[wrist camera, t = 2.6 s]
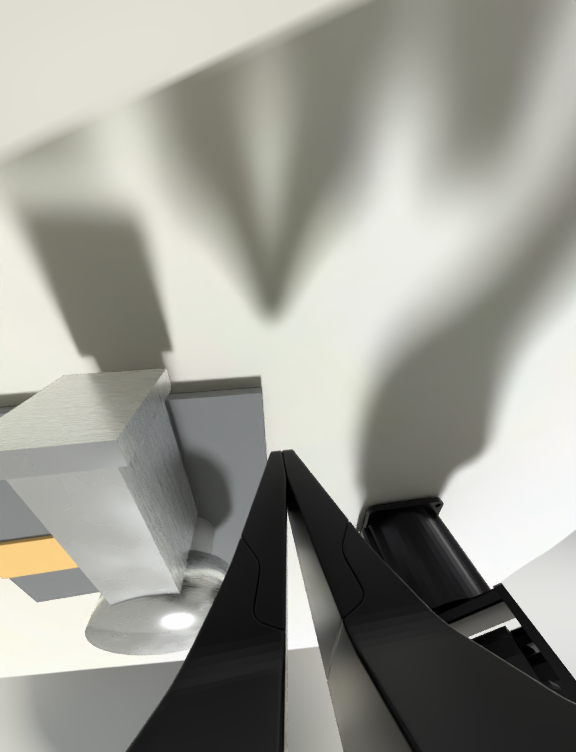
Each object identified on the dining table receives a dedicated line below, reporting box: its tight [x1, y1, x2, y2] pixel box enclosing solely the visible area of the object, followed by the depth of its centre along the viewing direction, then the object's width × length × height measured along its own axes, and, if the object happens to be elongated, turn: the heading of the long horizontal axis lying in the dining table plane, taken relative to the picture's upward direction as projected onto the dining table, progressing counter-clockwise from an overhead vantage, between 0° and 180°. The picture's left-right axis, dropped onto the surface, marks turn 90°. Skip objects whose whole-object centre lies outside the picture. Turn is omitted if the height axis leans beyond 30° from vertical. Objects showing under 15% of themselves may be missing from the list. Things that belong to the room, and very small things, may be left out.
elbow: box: [0, 368, 230, 655], centre depth 12 cm, size 16×7×4 cm, turn 0°
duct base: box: [0, 387, 267, 602], centre depth 14 cm, size 18×17×3 cm
